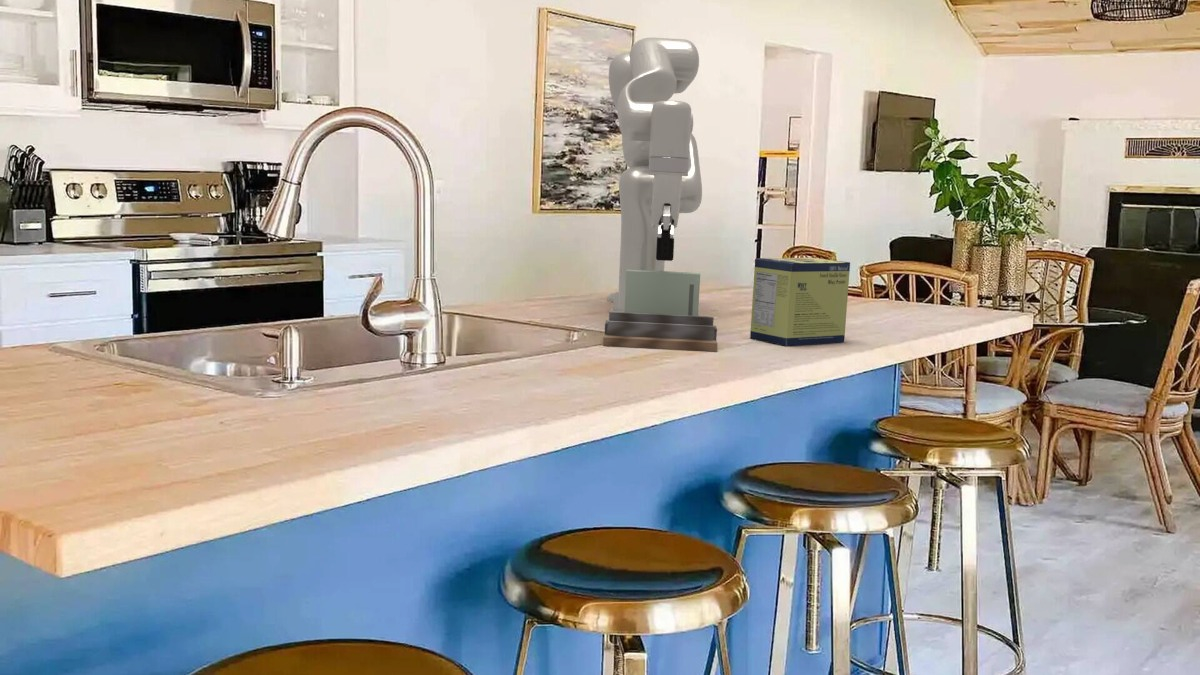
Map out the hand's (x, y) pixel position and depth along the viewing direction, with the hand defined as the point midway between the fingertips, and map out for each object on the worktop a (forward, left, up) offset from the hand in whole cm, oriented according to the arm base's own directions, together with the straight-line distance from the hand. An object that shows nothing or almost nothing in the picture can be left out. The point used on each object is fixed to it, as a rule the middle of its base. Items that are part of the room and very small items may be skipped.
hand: (664, 259), depth 223 cm
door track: (+8, -10, -14) cm, 19 cm away
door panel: (-1, 0, -15) cm, 15 cm away
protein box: (+19, +17, -15) cm, 30 cm away
